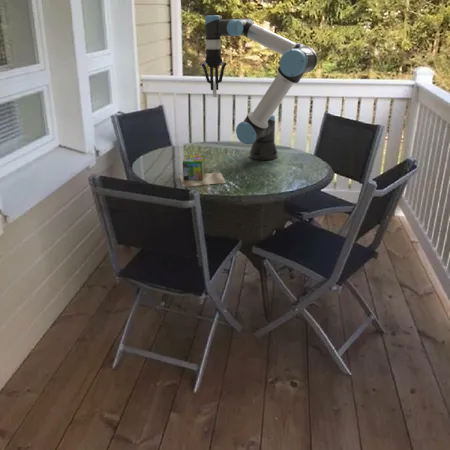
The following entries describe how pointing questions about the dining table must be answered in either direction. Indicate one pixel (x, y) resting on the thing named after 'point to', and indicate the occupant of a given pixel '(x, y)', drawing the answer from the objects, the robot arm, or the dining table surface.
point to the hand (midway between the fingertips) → (214, 96)
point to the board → (204, 180)
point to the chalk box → (193, 167)
